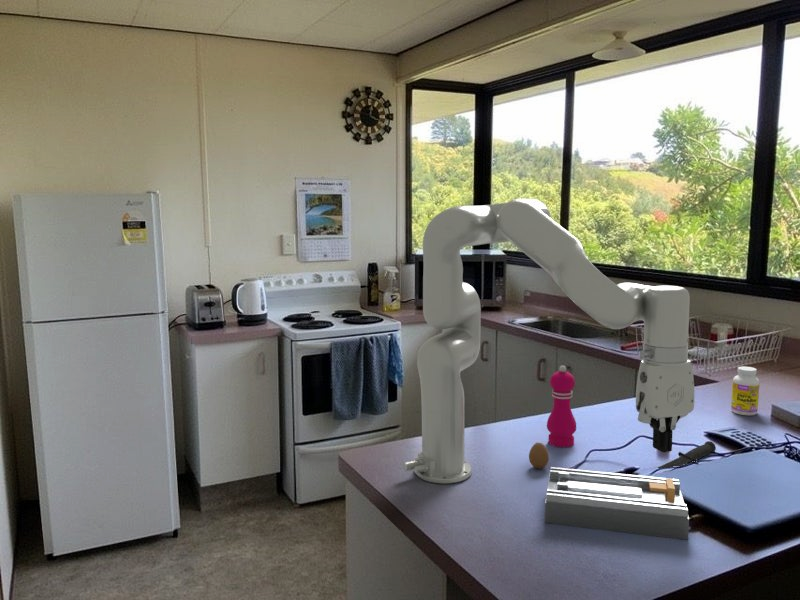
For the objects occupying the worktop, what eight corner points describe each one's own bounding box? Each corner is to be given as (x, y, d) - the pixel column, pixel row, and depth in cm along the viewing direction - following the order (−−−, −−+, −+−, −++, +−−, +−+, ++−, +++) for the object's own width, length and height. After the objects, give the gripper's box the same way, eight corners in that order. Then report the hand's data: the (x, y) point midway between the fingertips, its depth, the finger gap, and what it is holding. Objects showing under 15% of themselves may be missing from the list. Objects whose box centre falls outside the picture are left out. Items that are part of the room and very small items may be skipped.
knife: (704, 445, 156) (710, 438, 155) (719, 460, 153) (725, 453, 152) (636, 467, 144) (642, 459, 142) (651, 484, 141) (657, 476, 139)
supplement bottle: (732, 414, 180) (734, 370, 178) (729, 407, 186) (732, 364, 184) (759, 417, 177) (762, 372, 175) (755, 410, 183) (758, 366, 181)
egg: (538, 473, 143) (538, 448, 142) (524, 467, 147) (524, 442, 146) (552, 469, 145) (553, 443, 144) (538, 462, 149) (539, 437, 148)
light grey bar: (559, 491, 125) (559, 485, 125) (560, 484, 128) (560, 479, 128) (641, 499, 121) (642, 494, 120) (640, 492, 124) (640, 487, 124)
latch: (650, 501, 120) (650, 486, 119) (648, 491, 124) (648, 476, 123) (674, 504, 118) (675, 488, 118) (671, 493, 123) (672, 478, 122)
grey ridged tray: (544, 522, 121) (545, 491, 120) (549, 490, 134) (549, 462, 133) (688, 540, 114) (689, 507, 113) (678, 504, 127) (679, 475, 126)
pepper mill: (577, 449, 157) (579, 369, 154) (546, 447, 158) (548, 368, 155) (575, 438, 164) (576, 362, 161) (546, 436, 165) (547, 361, 162)
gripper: (646, 362, 111) (644, 463, 114) (713, 353, 116) (708, 450, 119) (618, 353, 118) (616, 448, 121) (681, 345, 123) (678, 437, 126)
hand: (662, 449), depth 120 cm, fingers closed
